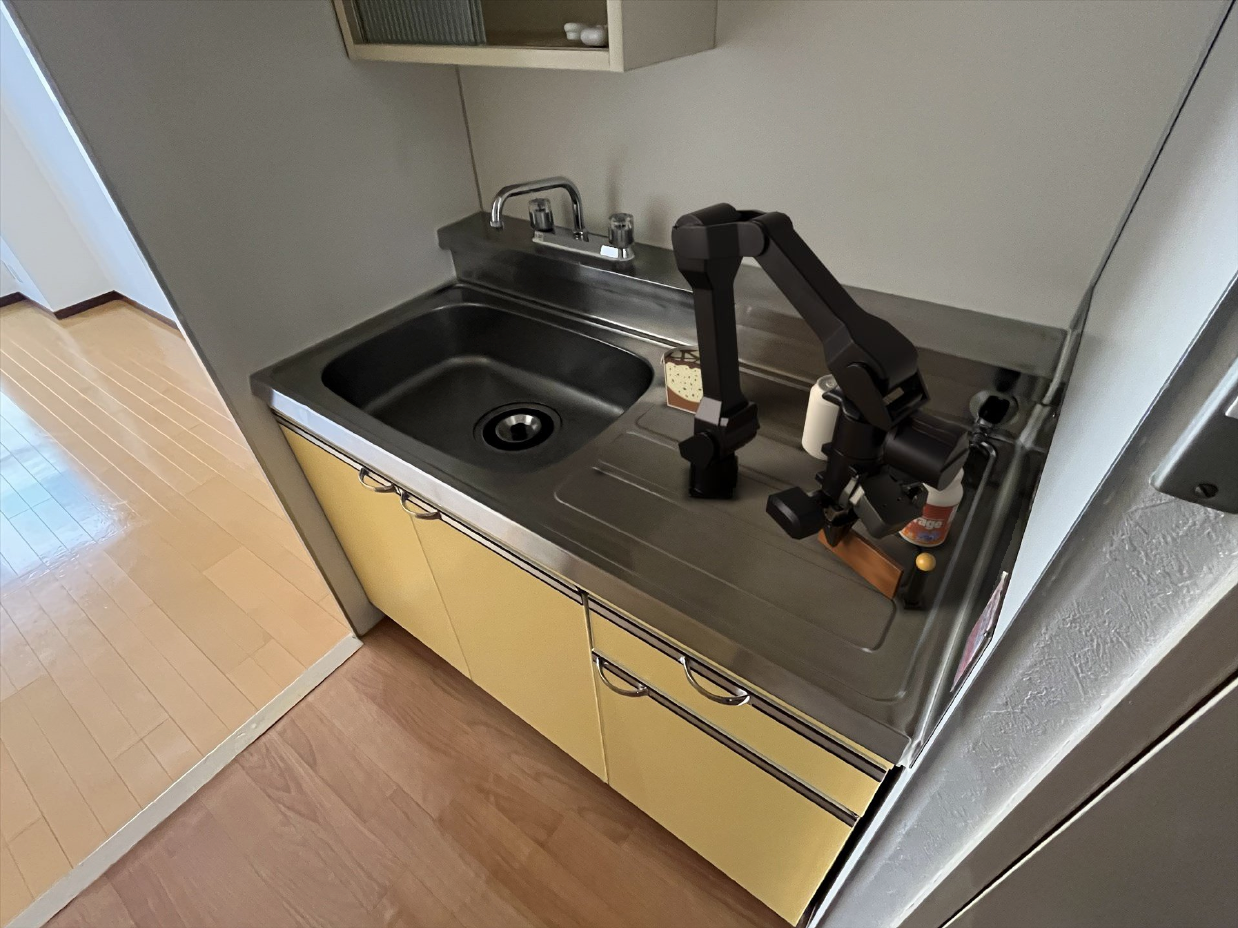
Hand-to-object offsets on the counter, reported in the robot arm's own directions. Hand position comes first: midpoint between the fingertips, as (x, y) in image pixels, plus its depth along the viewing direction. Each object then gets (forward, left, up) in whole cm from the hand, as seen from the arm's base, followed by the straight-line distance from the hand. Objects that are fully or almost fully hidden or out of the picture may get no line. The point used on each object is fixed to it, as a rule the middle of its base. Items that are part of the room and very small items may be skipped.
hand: (831, 545), depth 81 cm
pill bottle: (+13, +6, -3) cm, 15 cm away
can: (+3, +24, -3) cm, 25 cm away
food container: (-17, +36, -3) cm, 40 cm away
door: (+3, -1, -3) cm, 4 cm away
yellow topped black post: (+9, -6, -3) cm, 11 cm away
